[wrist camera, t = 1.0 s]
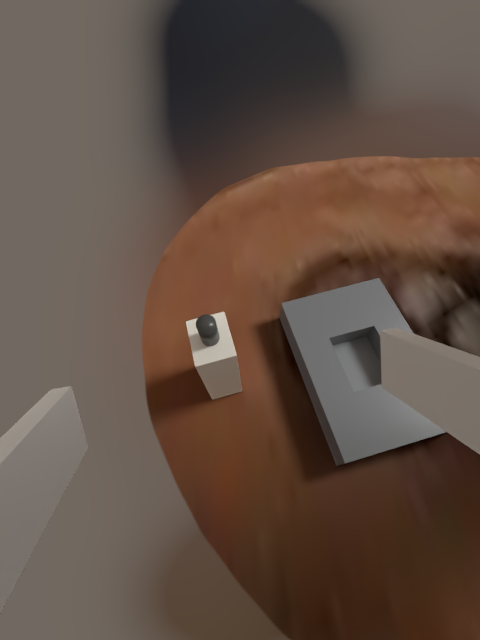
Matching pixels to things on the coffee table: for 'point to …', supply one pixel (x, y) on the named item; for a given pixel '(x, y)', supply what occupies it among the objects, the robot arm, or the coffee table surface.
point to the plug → (214, 354)
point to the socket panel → (351, 369)
